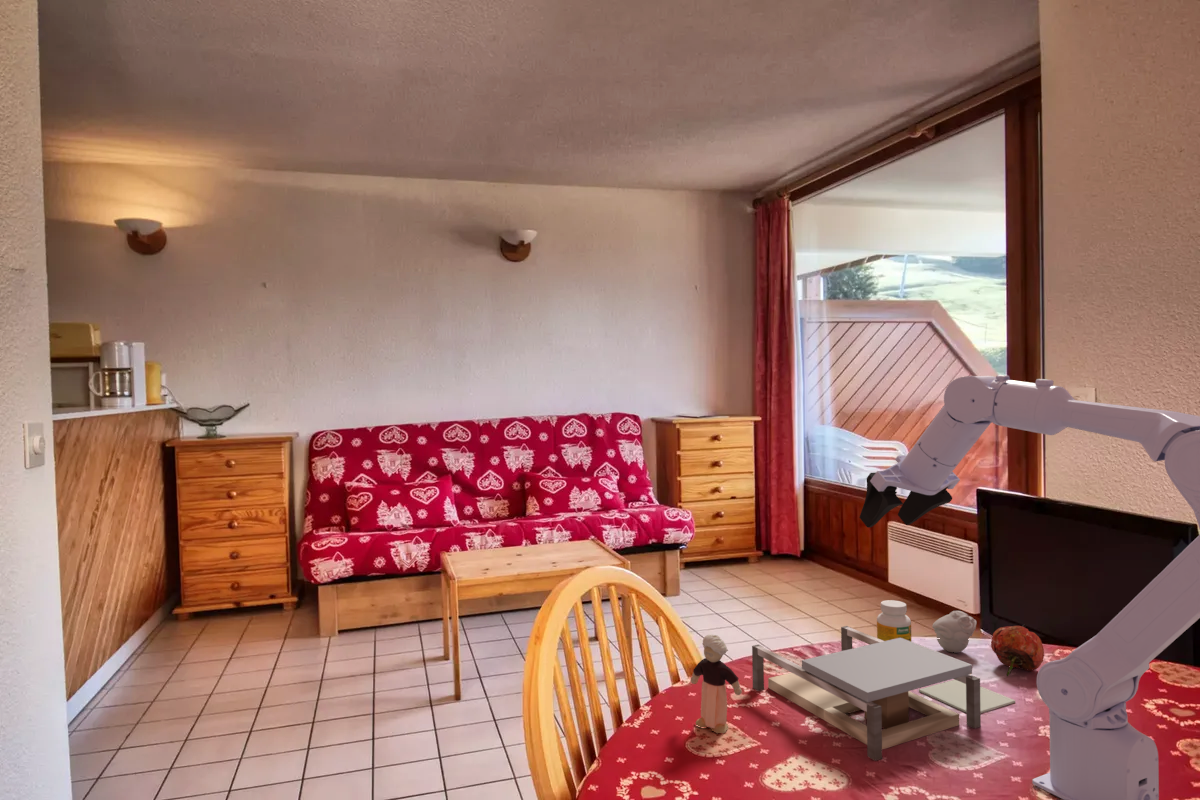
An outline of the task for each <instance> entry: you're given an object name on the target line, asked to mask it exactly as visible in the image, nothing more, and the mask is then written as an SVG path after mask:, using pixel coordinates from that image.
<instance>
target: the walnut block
mask: <svg viewBox="0 0 1200 800" xmlns="http://www.w3.org/2000/svg"><path fill="white" fill-rule="evenodd" d="M871 702H873V703H876V704H878V705H880V706H881V711H882V728H883V729H887V728H890V727H894V726H897V725H900V724H903V723H907V722H910V715H909V714H910V713H909V712H910V707H909V695H908V691H907V692H903V693H900V694H896V695H893V696H889V697H885V698H882V699H878V700H874V701H871ZM864 719H866V720H867V712H866V711H864Z"/></svg>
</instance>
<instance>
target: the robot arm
mask: <svg viewBox="0 0 1200 800" xmlns="http://www.w3.org/2000/svg"><path fill="white" fill-rule="evenodd" d="M932 419H933V420H932V421H931V422H930V424H929V425H928V426H927V427H926V428H925V430H924V432H923V433H921V435H920V437H919V438H918V440H917V441H916V442H915V444H914V445H913V447H912V448H911V449H910V451H909V452H908V454H906V455H897V456H896V457H895V462H896V463H895V464H893V465H891V466H889V467H888V468H885V469H883V470H877V471H876V472H870V473H869V475H868V476H866V496H865V499H864V503H863V506H862V508H861V512H860V515H859V519H860V521H861V522H862V523H863V524H864V525H865V527H866V528H868V529H869V528H872V527H874V526H876V525H877V524H878V522H879V521H880V520H882V518H883V517H885V515H886V514H888V513H889V512H890V511H892V510H893V509H895V508H897V507H900V508H899V511H898V513H897V516H898V517H899V519H900V520H901V521H902V522H903V523H904V525H906V526H910V525H911V524H913V523H915V522H916V521H918V520H919V519H920V518H922V517H924V516H925V515H926V514H928V513H929V512H931V511H932V510H934V509H937V508H938V507H941V506H943V505H946V504H949V503H951V501H952V500H953V496H952V495H951V493H949V491H948V490H953V489H954V488H955V487H956V486H957V484H959V482H960V481H961V478H959V476H958V475H956V474H955V472H953V471H955V469H956V467H958V465H959V464H960V462H961V461H962V460H963V459H964V457H965V456H966V455H967V454H968V452H969V451H970V450H971V449H972V447H974V445H975V444H976V443H977V442H978V440H979V438H981V436H982V435H983V434H984V432H985V431H986V430H987V429H988V428H989V426H990V425H991V424H994V425H996V426H999V427H1003V428H1004V427H1006V428H1011V429H1016V430H1021V431H1027V432H1031V433H1035V434H1043V435H1048V436H1055V435H1056V434H1059V433H1061V432H1062V431H1064V430H1065V429H1066V428H1067V429H1068V428H1071V429H1076V430H1079V431H1083V432H1084V431H1085V432H1088V433H1089V432H1090V433H1094V434H1098V435H1102V436H1109V437H1114V438H1117V439H1123V440H1127V441H1131V442H1135V443H1139V444H1141V446H1142V448H1143V449H1144V451H1145V452H1146V454H1147V455H1148V457H1149V458H1150V459H1151V460H1152V461H1153V462H1162V461H1164V467H1165V471H1166V474H1167V475H1168V478H1169V479H1170V481H1171V482H1172V483H1173V485H1174V486H1175V487H1176V489H1177V491H1178V492H1179V493H1180V495H1181V496H1182V497H1183V498H1184V500H1185V501H1186V502H1187V504H1188V505H1189V506H1190V507H1191V508H1190V509H1192V511H1193V512H1194V516H1195V519H1196V522H1197V525H1198V528H1199V529H1200V415H1195V414H1190V413H1185V412H1180V411H1173V410H1166V409H1155V408H1146V407H1138V406H1129V405H1124V404H1123V405H1121V404H1113V403H1105V402H1097V401H1096V402H1095V401H1086V400H1079V399H1078V400H1077V399H1075V398H1074V397H1073V396H1072V395H1071V393H1070V392H1069V391H1068V390H1067V389H1066V388H1065V387H1064V386H1060V385H1054V380H1053V379H1047V378H1045V379H1044V378H1036V380H1035V382H1029V381H1021V380H1013V379H1011V378H1010V375H1006V374H997V375H996V376H993V375H977V376H976V375H970V376H969V375H966V376H960V377H958V378H955V379H954V380H951V382H950V383H949V384H948V385H947V387H946V389H945V390H944V395H943V406H942V408H941V409H940V410H939V412H937V414H936V415H935V417H934V418H932ZM897 489H902V490H906V491H910V492H909V493H908V495H907V497H906V499H905V500H904V502H902V500H901V499H900V498H899V497H898V496H897V493H898V491H897ZM1199 619H1200V534H1198V536H1197V537H1196V538H1194V540H1193V541H1191V542H1190V543H1189V544H1188V545H1187V546H1186V547H1185V548H1184V549H1183V550H1182V551H1181V552H1180V553H1179V554H1178V555H1177V556H1176V557H1175V558H1174V559H1173V560H1171V562H1170V563H1169V564H1167V566H1166V567H1165V568H1163V570H1162V571H1161V572H1160V573H1159V574H1157V576H1155V577H1154V578H1153V579H1152V580H1151V581H1150V582H1149V583H1148V584H1147V585H1146V586H1145V587H1144V588H1143V589H1142V590H1141V591H1140V592H1139V593H1138V594H1137V595H1136V596H1135V597H1134V598H1133V599H1132V600H1130V602H1129V603H1128V604H1127V605H1125V607H1123V608H1122V610H1120V611H1119V612H1118V614H1116V615H1115V616H1114V617H1113V618H1112V619H1111V620H1110V621H1109V622H1108V623H1107V624H1106V625H1105V626H1104V627H1103V628H1102V629H1101V630H1100V631H1099V632H1098V633H1097V634H1096V635H1094V636H1093V637H1092V638H1090V639H1088V640H1087V641H1085V642H1084V643H1082V644H1081V645H1079V646H1078V647H1076V648H1075V649H1073V650H1072V651H1071V652H1070V653H1068V655H1067V656H1066V657H1064V658H1061V659H1056V660H1053V661H1052V660H1051V661H1048V662H1046V663H1045V664H1043V665H1042V666H1041V667H1040V669H1039V670H1038V673H1037V675H1036V688H1037V691H1038V694H1039V696H1040V698H1041V700H1042V702H1043V703H1044V704H1045V706H1046V707H1047V708H1048V714H1049V767H1050V768H1049V772H1048V773H1044V774H1043V775H1040V776H1037V777H1035V778H1032V780H1031V781H1032V784H1033V785H1034V786H1036V787H1038V788H1040V789H1042V790H1044V791H1046V792H1048V793H1049V794H1052V795H1054V796H1055V797H1057V798H1060V799H1061V800H1159V799H1160V793H1159V792H1160V789H1159V788H1160V785H1159V782H1160V781H1159V779H1160V777H1159V776H1160V775H1159V774H1160V773H1159V767H1160V766H1159V750H1158V747H1157V745H1156V742H1155V740H1154V739H1153V738H1152V737H1149V736H1148V735H1146V734H1144V733H1142V732H1141V731H1139V730H1138V729H1137V728H1135V727H1134V726H1133V725H1131V723H1130V722H1128V720H1129V719H1128V718H1129V717H1128V712H1127V702H1128V701H1130V700H1132V699H1133V698H1134V697H1135V696H1136V693H1137V692H1138V690H1139V682H1140V680H1141V677H1142V676H1143V675H1144V673H1145V672H1147V671H1148V670H1149V669H1150V663H1151V662H1152V661H1153V660H1154V659H1155V658H1156V657H1158V656H1159V655H1160V654H1161V653H1162V652H1163V651H1165V650H1166V649H1167V648H1168V647H1169V646H1170V645H1171V644H1172V643H1174V641H1175V640H1176V639H1178V638H1179V637H1180V636H1181V635H1183V633H1184V632H1186V630H1188V629H1189V628H1190V627H1191V626H1192V625H1193V624H1195V623H1196V622H1197V621H1198V620H1199Z"/></svg>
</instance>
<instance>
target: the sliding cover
mask: <svg viewBox="0 0 1200 800" xmlns="http://www.w3.org/2000/svg"><path fill="white" fill-rule="evenodd" d="M801 667H802V669H803V670H805V671H807V672H809V673H811V674H813V675H815V676H817V677H819V678H821V679H823V680H825V681H827V682H829V683H831V684H833V685H835V686H837V687H839V688H841V689H843V690H845V691H847V692H849V693H851V694H853V695H855V696H857V697H858V698H860V699H862V700H864V701H866V702H871V701H874V700H878V699H882V698H885V697H889V696H893V695H896V694H900V693H903V692H907V691H910V692H912V691H915V690H919V689H922V688H926V687H929V686H933V685H937V684H940V683H944V682H947V681H951V680H955V679H954V678H958V677H962V676H965V675H972V674H973V664H971V663H968V662H966V661H963V660H961V659H958V658H955V657H952V656H950V655H947V654H945V653H943V652H939V651H937V650H934V649H932V648H929V647H927V646H924V645H921V644H918V643H916V642H913V641H912V640H911V641H908V640H905V639H903V638H896V639H892V640H888V641H883V642H879V643H875V644H865V645H861V646H857V647H855V648H853V647H852V649H849V650H844V651H841V650H840V651H835V652H832V653H828V654H823V655H818V656H815V657H814V656H813V657H809V658H806V659H802V660H801Z"/></svg>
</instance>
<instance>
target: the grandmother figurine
mask: <svg viewBox="0 0 1200 800" xmlns="http://www.w3.org/2000/svg"><path fill="white" fill-rule="evenodd" d="M702 646H703V655H704V657H705V658H703V659H701V660H700V661H699V662H698V663H697V664H696V666H695V667H694V668H693V672H692V674H691V675H692V676H691V678H690V682H691V684H692V685H697V684H698V682H699V679H700V676H702V678H703V679H702V682H701V703H700V718H698V719H697V720H696V721H695V723H696V725H698V726H700V727H707V726H708V728H710V729H712V730H711V732H712V731H714V732H716V734H718V733H723V734H725V733H726V732H727V731H726V730H728V729H729V725H728V723H727V717H728V716H727V713H728V699H727V698H728V697H727V688H726V684H727V683H728V684H729V685H730V686H731V688H732V689H733V692H734V694H735V695H737V696H740V695H742V694H743V690H742V688H741V687H740V682H739V677H738V676H737V675H736V673H735V672H734V671H733V670H732V668H730V667H729V666H727V664H725V663H724V661H722V660H721V659H722V658H723V656H724V655H725V654H726V653H727V652H728V651H729V650H728V648H727V644H726V643H725V642H724V640H722V638H721V637H720V636H719V635H716V634H707V635H705V636H704V637H703V639H702ZM726 682H727V683H726ZM727 728H728V729H727ZM714 732H713V733H714Z"/></svg>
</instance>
